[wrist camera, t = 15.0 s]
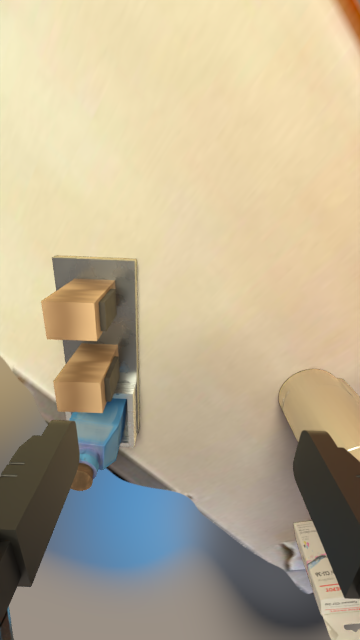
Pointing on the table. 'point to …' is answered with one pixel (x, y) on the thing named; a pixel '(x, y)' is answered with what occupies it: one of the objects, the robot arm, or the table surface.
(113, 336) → the grey rectangular tray
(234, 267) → the table surface
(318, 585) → the ink cartridge box
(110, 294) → the walnut finger front
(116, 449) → the perfume bottle
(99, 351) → the walnut finger rear
